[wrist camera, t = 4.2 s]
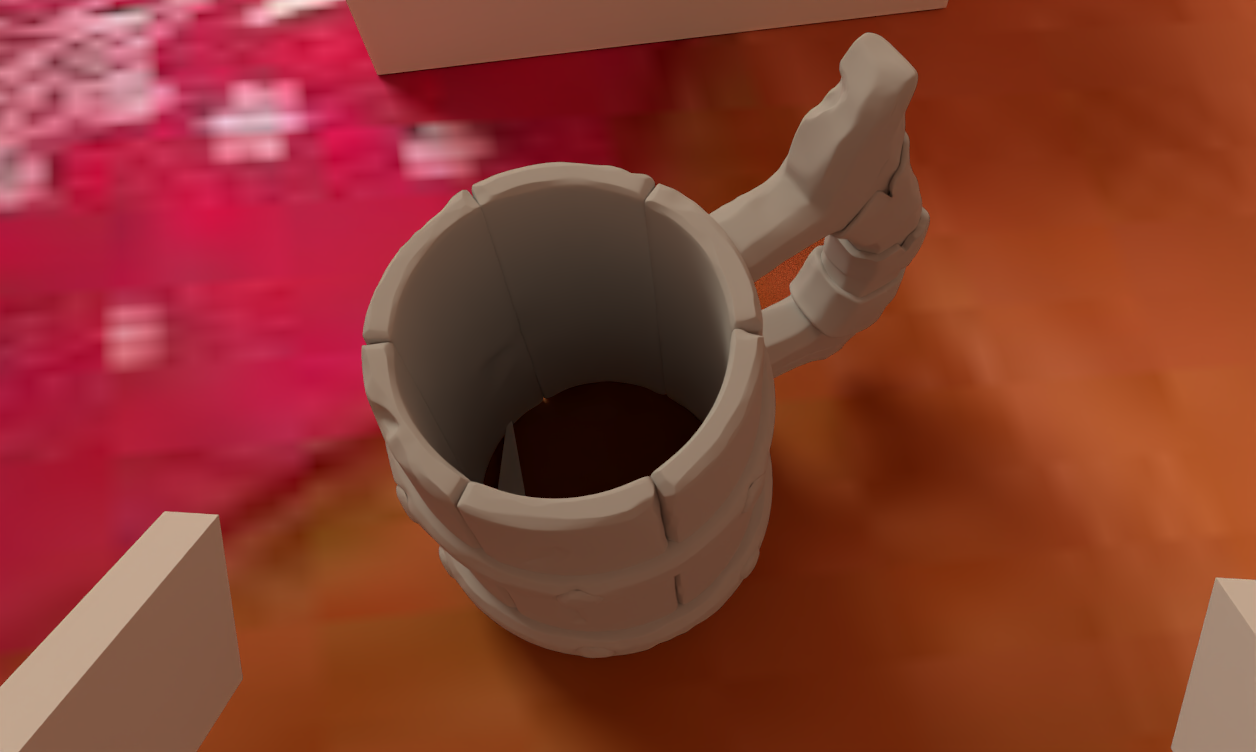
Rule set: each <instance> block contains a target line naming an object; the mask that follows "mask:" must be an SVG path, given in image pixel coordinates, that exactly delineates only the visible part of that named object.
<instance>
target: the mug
mask: <svg viewBox="0 0 1256 752" xmlns="http://www.w3.org/2000/svg"><path fill="white" fill-rule="evenodd" d="M839 71H840V74H841V80H840V82H839V83H838V84H837V85H836V86H835V87H834V88H833V89H831V90H830V91H829V92H828V93H827V95H826V96H825V97H824V99H823V100H822V102H821V103H820V104H819V105H817V106H816V107H814V108H813V109H811V110H810V111H809V112H808V113H807V114H806V115H805V116H804V118H803V119H802V121H801V123H800V125H799V127H798V129H797V131H796V134H795V136H794V138H793V141H792V144H791V147H790V150H789V153H788V155H787V157H786V159H785V160H784V162H783V163H782V165H781V166H780V168H779V169H778V170H777V171H776V172H775V173H774V174H773V175H772V176H771V177H770V178H769V179H768V180H767V181H765V182H764V183H763V184H761V185H759V186H758V187H756V188H754V189H753V190H751V191H749V192H747V193H745V194H743V195H740V196H739V197H737V198H736V199H734V200H733V201H731V202H729V203H727V204H725V205H723V206H721V207H720V208H718V209H717V210H715V211H713V212H712V213H710V214H708V213H706V212H705V211H704V210H703V209H702V208H701V207H700V206H699V205H698V204H697V203H695V202H694V201H692V200H691V199H689V198H688V197H686V196H685V195H683V194H682V193H680V192H678V191H677V190H675V189H673V188H670V187H668V186H665V185H662V184H660V183H659V184H658V185H657V186H656V187H655V182H654V180H653V179H652V178H651V177H650V176H648V175H646V174H635V173H630V172H628V171H626V170H624V169H621V168H617V167H614V166H609V165H591V164H581V163H570V162H550V163H542V164H535V165H530V166H526V167H521V168H517V169H513V170H509V171H506V172H502V173H499V174H496V175H494V176H491V177H489V178H487V179H485V180H483V181H480V182H478V183H476V184H474V185H473V186H472V194H473V197H472V195H471V194H470V193H469V192H468V191H467V190H462V191H460V192H458V193H457V194H456V195H454V196H453V197H452V198H451V199H450V200H449V202H448V203H447V205H446V206H445V207H444V208H443V210H442V211H441V212H439V213H438V214H437V215H436V216H434V217H433V218H432V219H431V220H429V221H428V222H427V223H426V224H425V225H424V226H423V227H422V228H421V229H420V230H418V231H417V232H416V233H415V234H414V235H413V236H412V237H411V238H410V240H409V241H408V242H407V243H406V244H404V245H403V246H402V247H401V248H400V250H399V251H398V253H397V254H396V255H395V257H394V258H393V260H392V261H391V262H390V264H389V265H388V267H387V269H386V270H385V272H384V274H383V276H382V278H381V280H380V282H379V284H378V286H377V288H376V290H375V292H374V294H373V297H372V299H371V302H370V305H369V308H368V310H367V314H366V317H365V322H364V328H363V338H364V340H365V342H366V344H367V345H363V346H362V369H363V378H364V386H365V391H366V395H367V398H368V401H369V403H370V406H371V408H372V410H373V413H374V415H375V418H376V420H377V423H378V425H379V427H380V430H381V433H382V435H383V437H384V439H385V441H386V448H387V453H388V457H389V461H390V465H391V469H392V473H393V477H394V480H395V482H396V483H397V484H398V485H397V487H396V492H397V496H398V498H399V500H400V503H401V505H402V506H403V508H404V510H405V512H406V513H407V515H408V516H409V517H410V518H411V520H413V521H414V522H416V523H418V524H420V526H421V527H422V528H423V529H424V530H425V531H426V532H427V533H428V534H429V535H430V536H431V537H433V538H434V540H435V541H436V542H437V543H438V544H439V545H440V547H439V556H440V559H441V562H442V564H443V566H444V567H445V569H446V570H447V572H448V573H449V575H450V576H451V577H453V578H455V579H456V581H457V582H458V583H459V585H460V586H461V587H462V589H463V590H464V592H465V593H466V594H467V596H468V597H469V598H470V599H471V600H472V601H473V602H474V604H475V605H476V606H477V607H478V608H479V609H480V610H481V611H482V612H484V613H485V614H486V615H487V616H488V617H490V618H491V619H492V620H493V621H495V622H496V623H497V624H499V625H500V626H501V627H503V628H504V629H506V630H508V631H509V632H511V633H512V634H514V635H516V636H518V637H520V638H522V639H524V640H526V641H528V642H530V643H533V644H535V645H538V646H540V647H543V648H546V649H549V650H553V651H557V652H561V653H566V654H572V655H579V656H583V657H586V658H601V657H609V656H618V655H626V654H631V653H636V652H640V651H644V650H648V649H650V648H652V647H654V646H655V645H657V644H659V643H662V642H666V641H668V640H671V639H672V638H674V637H676V636H678V635H681V634H683V633H686V632H687V631H689V630H690V629H691V628H693V627H694V626H695V625H697V624H699V623H701V622H702V621H704V620H706V619H707V618H709V617H710V616H711V615H712V614H714V613H715V612H716V611H718V610H719V609H720V608H721V607H722V606H723V605H724V603H725V602H726V601H727V600H728V599H729V598H730V597H731V595H732V594H733V593H734V592H735V590H736V589H737V588H738V587H739V585H740V584H741V582H742V581H743V579H745V578H746V577H748V576H749V574H750V573H751V572H752V570H753V569H754V567H755V565H756V563H757V560H758V557H759V554H760V552H759V549H760V547H761V544H762V541H763V539H764V536H765V532H766V529H767V525H768V521H769V516H770V510H771V503H772V489H773V479H772V464H771V456H770V447H771V442H772V437H773V430H774V422H775V387H774V378H775V377H777V376H779V375H781V374H783V373H785V372H787V371H789V370H792V369H794V368H796V367H798V366H800V365H803V364H806V363H808V362H812V361H816V360H822V359H826V358H828V357H829V356H831V355H833V354H834V353H836V352H837V351H839V350H840V349H841V348H842V347H843V345H844V344H845V343H846V342H847V341H848V340H849V339H850V338H852V337H853V336H854V335H855V334H856V333H857V332H860V331H862V330H864V329H866V328H868V327H869V326H871V325H872V324H874V323H875V322H876V321H877V320H878V319H879V317H880V315H881V314H882V312H883V310H884V309H885V307H886V306H887V305H888V304H889V303H890V302H891V301H892V299H893V298H894V296H895V295H896V293H897V290H898V288H899V285H900V283H901V281H902V278H903V275H904V272H905V269H906V266H908V265H909V264H910V262H911V261H912V259H913V258H914V257H915V255H916V254H917V252H918V251H919V249H920V247H921V245H922V243H923V241H924V238H925V236H926V233H927V230H928V227H929V223H930V217H929V213H928V212H927V211H926V210H925V209H924V208H923V207H922V199H921V195H920V191H919V185H918V181H917V178H916V176H915V175H914V173H913V171H912V168H911V165H910V154H909V147H910V140H909V137H908V135H907V133H906V132H905V111H906V109H907V107H908V105H909V103H910V101H911V98H912V96H913V94H914V91H915V89H916V86H917V82H918V73H917V71H916V70H915V68H914V67H913V66H912V65H911V64H910V63H909V62H908V61H907V60H906V59H905V58H904V57H903V56H902V55H901V54H900V53H899V52H898V51H897V50H896V49H895V48H894V47H893V46H892V45H891V44H890V43H889V42H888V41H887V40H886V39H884V38H883V37H882V36H880V35H878V34H874V33H870V32H867V33H865V34H863V35H862V36H860V37H859V38H858V39H857V40H856V41H855V42H854V43H853V44H852V46H851V47H850V48H849V50H848V51H847V53H846V54H845V55H844V57H843V58H842V60H841V61H840V67H839ZM824 237H825V240H824V245H822V246H817V247H816V248H815V249H814V250H813V251H812V252H811V253H810V254H809V256H808V258H807V259H806V261H805V263H804V265H803V266H802V268H801V270H800V271H799V273H798V274H797V276H796V277H795V278H794V280H793V281H792V282H791V283H790V292H791V295H790V296H788V297H787V298H785V299H783V300H781V301H780V302H777V303H775V304H773V305H771V306H769V307H767V308H765V309H763V310H761V306H760V301H759V297H758V294H757V291H756V288H755V285H754V282H755V281H757V280H758V279H760V278H761V277H763V276H764V275H766V274H767V273H769V272H770V271H772V270H773V269H774V268H776V267H777V266H778V265H780V264H781V263H783V262H784V261H786V260H787V259H789V258H791V257H793V256H794V255H796V254H797V253H799V252H800V251H802V250H804V249H805V248H807V247H809V246H810V245H812V244H813V243H815V242H817V241H819V240H820V239H822V238H824ZM595 382H621V383H628V384H633V385H638V386H642V387H645V388H647V389H650V390H652V391H653V392H655V393H658V394H662V395H665V394H667V396H668V397H669V398H671V399H672V400H674V401H675V402H677V403H678V404H680V405H682V406H683V407H685V408H686V409H688V410H689V411H690V412H691V413H692V414H693V415H695V416H696V417H697V418H698V419H699V420H700V421H701V422H702V425H701V426H700V428H699V429H698V430H697V432H696V433H695V434H694V435H693V436H692V438H691V439H690V440H689V441H688V442H687V443H686V444H685V445H684V446H683V447H682V448H681V449H680V450H679V451H678V452H677V453H676V454H675V455H673V456H672V457H671V458H670V459H669V460H667V461H666V462H665V463H664V464H662V465H661V466H660V467H659V468H657V469H656V470H655V471H654V472H653V473H652V474H651V477H649V476H646V477H643V478H640V479H638V480H635V481H633V482H630V483H628V484H626V485H623V486H620V487H618V488H615V489H612V490H609V491H605V492H601V493H597V494H593V495H588V496H582V497H574V498H557V499H551V498H535V497H527V496H525V490H524V484H523V479H522V473H521V468H520V462H519V456H518V451H517V445H516V440H515V434H514V428H513V424H514V423H515V422H516V421H517V420H518V419H519V418H520V417H521V416H522V415H524V414H525V413H526V412H528V411H529V410H530V409H532V408H534V407H536V406H537V405H539V404H540V403H541V402H542V401H543V397H544V398H550V397H553V396H555V395H556V394H558V393H560V392H562V391H564V390H566V389H568V388H571V387H574V386H578V385H582V384H588V383H595ZM504 435H505V441H504V448H503V455H502V462H501V470H500V477H499V484H498V490H497V489H495V488H492V487H489V486H486V485H484V484H483V483H484V478H485V474H486V470H487V467H488V464H489V462H490V459H491V457H492V455H493V453H494V451H495V449H496V447H497V446H498V444H499V442H500V441H501V439H502V438H503V436H504Z"/></svg>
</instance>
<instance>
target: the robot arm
mask: <svg viewBox="0 0 1256 752" xmlns="http://www.w3.org/2000/svg"><path fill="white" fill-rule="evenodd" d="M242 679H243V676H242V669H241V662H240V656H239V649H238V642H237V635H236V629H235V622H234V615H233V608H232V602H231V595H230V588H229V581H228V575H227V568H226V561H225V554H224V548H223V541H222V534H221V527H220V521H219V515H214V514H199V513H183V512H167V511H164V513H163V514H162V515H161V516H160V517H159V518H158V519H157V520H156V521H155V522H154V523H153V524H152V525H151V526H150V528H149V529H148V530H147V531H146V532H145V533H144V534H143V535H142V536H141V537H140V538H139V539H138V540H137V541H136V542H135V544H134V545H133V546H132V547H131V548H130V549H129V550H128V551H127V552H126V553H125V554H124V555H123V556H122V557H121V558H120V560H119V561H118V562H117V563H116V564H115V565H114V566H113V567H112V568H111V569H110V570H109V571H108V572H107V573H106V575H105V576H104V577H103V578H102V579H101V580H100V581H99V582H98V583H97V584H96V585H95V586H94V587H93V588H92V589H91V591H90V592H89V593H88V594H87V595H86V596H85V597H84V598H83V599H82V600H81V601H80V602H79V603H78V604H77V606H76V607H75V608H74V609H73V610H72V611H71V612H70V613H69V614H68V615H67V616H66V617H65V618H64V619H63V620H62V622H61V623H60V624H59V625H58V626H57V627H56V628H55V629H54V630H53V631H52V632H51V633H50V634H49V635H48V637H47V638H46V639H45V640H44V641H43V642H42V643H41V644H40V645H39V646H38V647H37V648H36V649H35V650H34V651H33V653H32V654H31V655H30V656H29V657H28V658H27V659H26V660H25V661H24V662H23V663H22V664H21V665H20V666H19V667H18V669H17V670H16V671H15V672H14V673H13V674H12V675H11V676H10V677H9V678H8V679H7V680H6V681H5V682H4V684H3V685H2V686H1V687H0V752H197V750H198V748H199V747H200V745H201V744H202V742H203V741H204V739H205V737H206V736H207V734H208V733H209V731H210V730H211V728H212V726H213V725H214V723H215V722H216V720H217V719H218V717H219V715H220V714H221V712H222V711H223V709H224V708H225V706H226V704H227V703H228V701H229V700H230V698H231V697H232V695H233V693H234V692H235V690H236V689H237V687H238V686H239V684H240V682H241V681H242ZM1171 749H1172V751H1173V752H1256V580H1247V579H1231V578H1215V582H1214V586H1213V590H1212V594H1211V597H1210V601H1209V605H1208V609H1207V613H1206V616H1205V620H1204V624H1203V628H1202V632H1201V635H1200V639H1199V643H1198V647H1197V651H1196V654H1195V658H1194V662H1193V666H1192V670H1191V673H1190V677H1189V681H1188V685H1187V688H1186V692H1185V696H1184V700H1183V704H1182V707H1181V711H1180V715H1179V719H1178V723H1177V726H1176V730H1175V734H1174V738H1173V742H1172V745H1171Z"/></svg>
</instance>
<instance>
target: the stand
mask: <svg viewBox="0 0 1256 752" xmlns="http://www.w3.org/2000/svg"><path fill="white" fill-rule="evenodd" d="M346 2H347V4H348V6H349V9H350V11H351V13H352V16H353V18H354V21H355V23H356V25H357V28H358V30H359V32H360V35H361V37H362V40H363V42H364V44H365V47H366V49H367V51H368V54H369V56H370V58H371V61H372V63H373V66H374V68H375V70H376V73H377V75H383V74H391V73H400V72H408V71H416V70H425V69H433V68H442V67H450V66H459V65H467V64H475V63H484V62H492V61H501V60H509V59H518V58H526V57H534V56H543V55H551V54H560V53H568V52H576V51H585V50H593V49H602V48H610V47H619V46H627V45H635V44H644V43H652V42H661V41H669V40H678V39H686V38H694V37H703V36H711V35H720V34H728V33H737V32H745V31H753V30H762V29H770V28H779V27H787V26H795V25H804V24H812V23H821V22H829V21H838V20H846V19H854V18H863V17H871V16H880V15H888V14H897V13H905V12H913V11H922V10H930V9H939V8H946V7H947V4H948V0H346Z"/></svg>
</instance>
